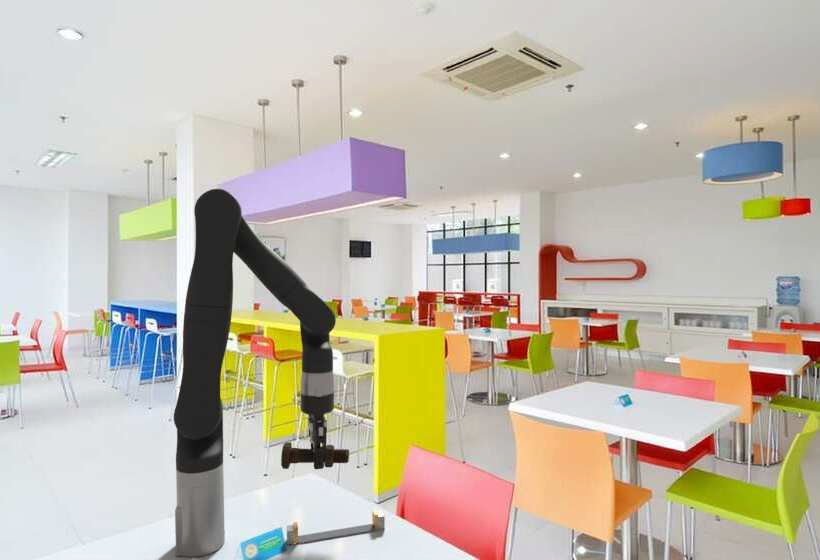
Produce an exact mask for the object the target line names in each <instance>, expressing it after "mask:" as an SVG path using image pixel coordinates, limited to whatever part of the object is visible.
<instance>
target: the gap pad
mask: <svg viewBox="0 0 820 560" xmlns="http://www.w3.org/2000/svg"><path fill="white" fill-rule="evenodd" d="M372 532H376V531H375V529H374V527H373V523H370V524H369V523H368V524H362V525H356V526H351V527H350V526H349V527H345V528H344V527H343V528H338V529H332V530H326V531H321V532H314V533H307V534H302V535H298V542H299V543H302V544H304V543H303V542H308V543H313V541H314V542H319V541H324V540H331V539H336V538H343V537H347V536H354V535H360V534H366V533H372ZM299 543H298V544H299Z"/></svg>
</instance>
